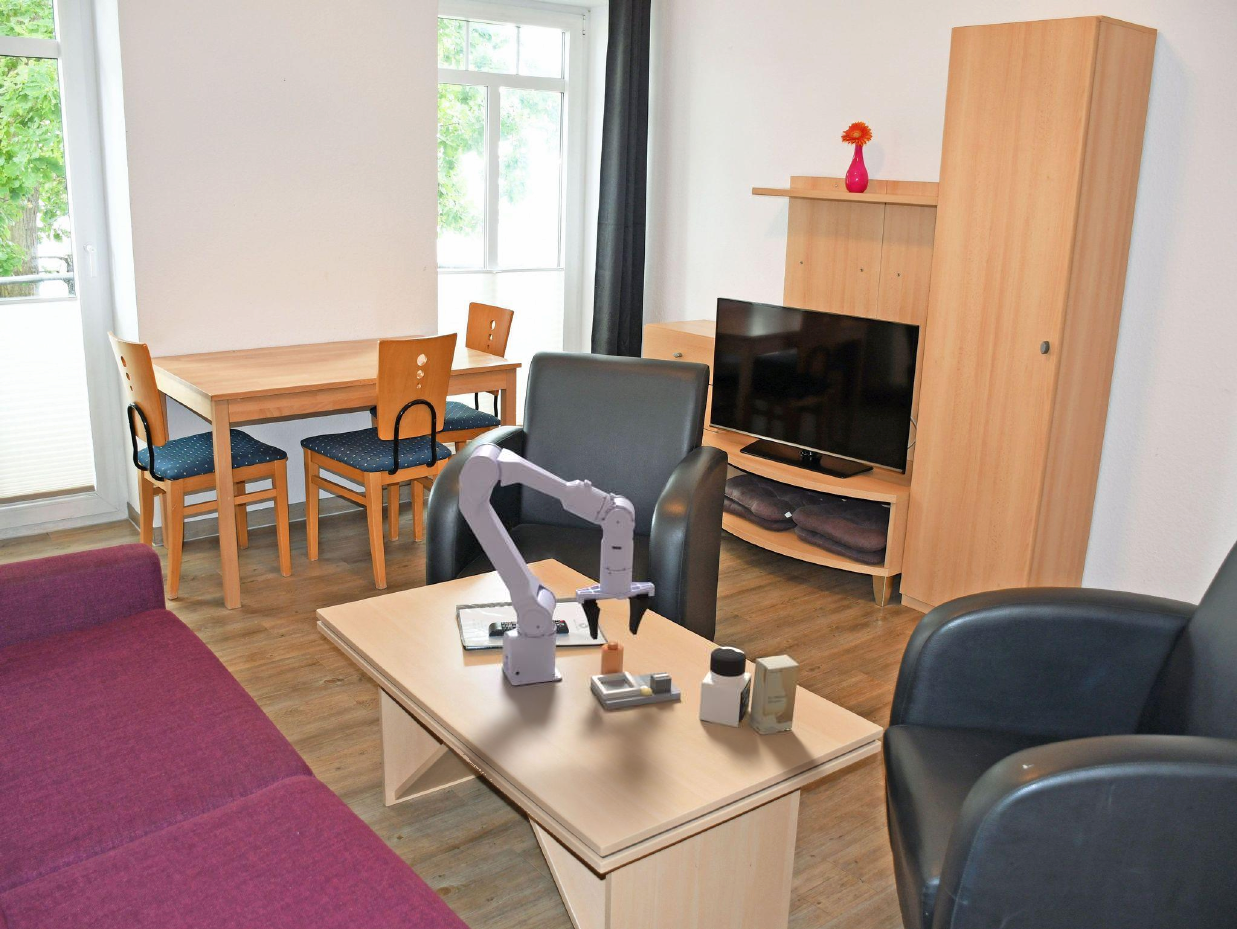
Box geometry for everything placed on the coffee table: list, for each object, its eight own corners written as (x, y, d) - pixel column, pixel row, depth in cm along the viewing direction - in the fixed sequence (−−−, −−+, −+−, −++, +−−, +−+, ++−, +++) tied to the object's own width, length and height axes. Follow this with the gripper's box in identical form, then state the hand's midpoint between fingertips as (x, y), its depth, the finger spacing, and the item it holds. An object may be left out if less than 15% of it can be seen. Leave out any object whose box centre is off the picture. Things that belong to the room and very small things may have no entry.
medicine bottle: (738, 728, 184) (744, 664, 181) (698, 720, 187) (702, 655, 184) (748, 710, 191) (754, 647, 188) (709, 702, 193) (714, 639, 190)
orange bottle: (604, 683, 198) (606, 649, 197) (597, 674, 202) (598, 640, 200) (625, 681, 200) (627, 647, 198) (617, 671, 203) (619, 638, 202)
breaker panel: (606, 709, 189) (607, 697, 188) (590, 687, 197) (590, 676, 196) (680, 698, 194) (681, 687, 193) (662, 677, 202) (662, 667, 201)
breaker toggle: (655, 693, 193) (656, 679, 192) (649, 686, 195) (650, 673, 194) (670, 691, 194) (671, 677, 193) (665, 684, 196) (666, 671, 195)
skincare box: (761, 736, 182) (767, 669, 179) (748, 723, 186) (753, 658, 183) (794, 729, 185) (800, 664, 182) (780, 717, 189) (786, 653, 185)
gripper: (585, 576, 189) (582, 648, 192) (662, 569, 194) (658, 639, 197) (572, 562, 195) (570, 632, 199) (647, 555, 200) (644, 624, 204)
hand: (613, 635), depth 199 cm, fingers open, 7 cm apart
